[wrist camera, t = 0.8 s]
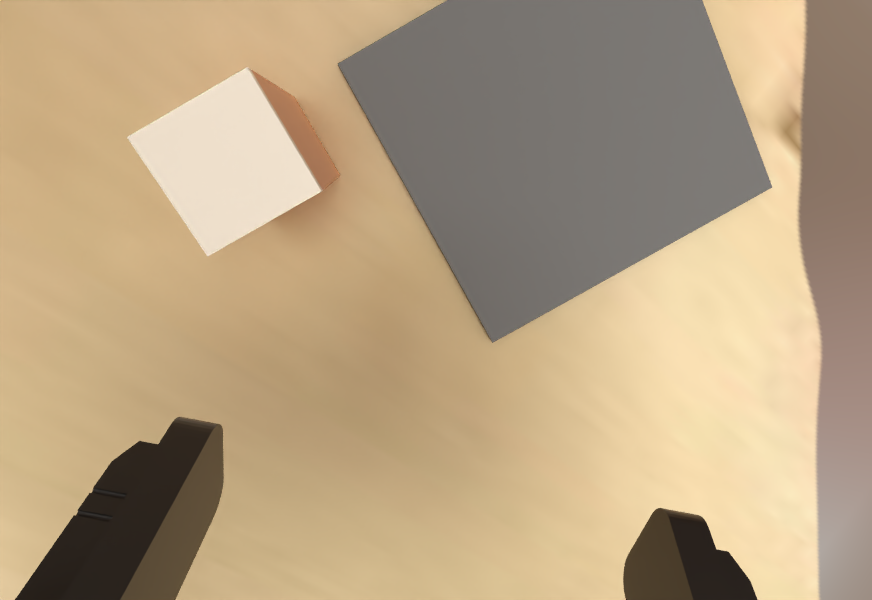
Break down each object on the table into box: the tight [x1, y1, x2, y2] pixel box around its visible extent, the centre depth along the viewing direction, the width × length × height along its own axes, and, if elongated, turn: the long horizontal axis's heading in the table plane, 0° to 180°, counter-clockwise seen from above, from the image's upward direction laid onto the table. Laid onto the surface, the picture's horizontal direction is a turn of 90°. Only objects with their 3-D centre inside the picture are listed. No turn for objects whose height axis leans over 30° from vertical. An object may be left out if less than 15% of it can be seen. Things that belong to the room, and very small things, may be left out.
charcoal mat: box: [338, 0, 772, 343], centre depth 32 cm, size 17×18×1 cm
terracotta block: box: [127, 67, 340, 256], centre depth 26 cm, size 4×4×12 cm
